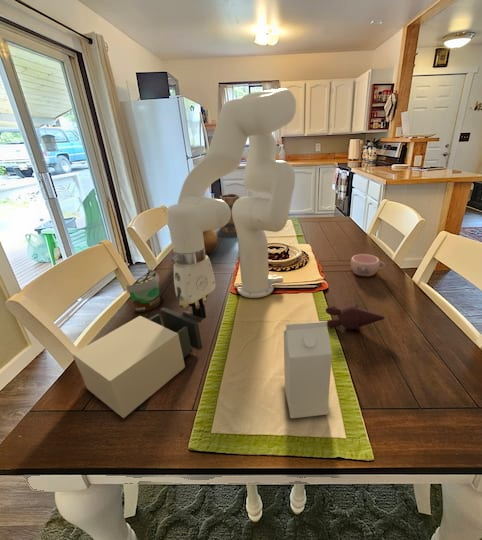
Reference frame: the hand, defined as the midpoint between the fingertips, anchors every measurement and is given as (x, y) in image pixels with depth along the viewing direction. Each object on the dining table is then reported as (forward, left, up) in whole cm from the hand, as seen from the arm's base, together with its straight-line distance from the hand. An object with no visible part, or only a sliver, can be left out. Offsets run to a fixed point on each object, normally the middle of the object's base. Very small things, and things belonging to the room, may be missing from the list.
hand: (199, 317), depth 78 cm
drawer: (+8, +8, -3) cm, 12 cm away
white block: (+15, +14, -4) cm, 21 cm away
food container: (+15, -18, -4) cm, 24 cm away
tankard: (-23, -84, -4) cm, 87 cm away
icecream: (-40, +11, -4) cm, 42 cm away
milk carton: (-19, +30, -4) cm, 36 cm away
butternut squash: (-3, -58, -4) cm, 58 cm away
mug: (-61, -17, -4) cm, 64 cm away
